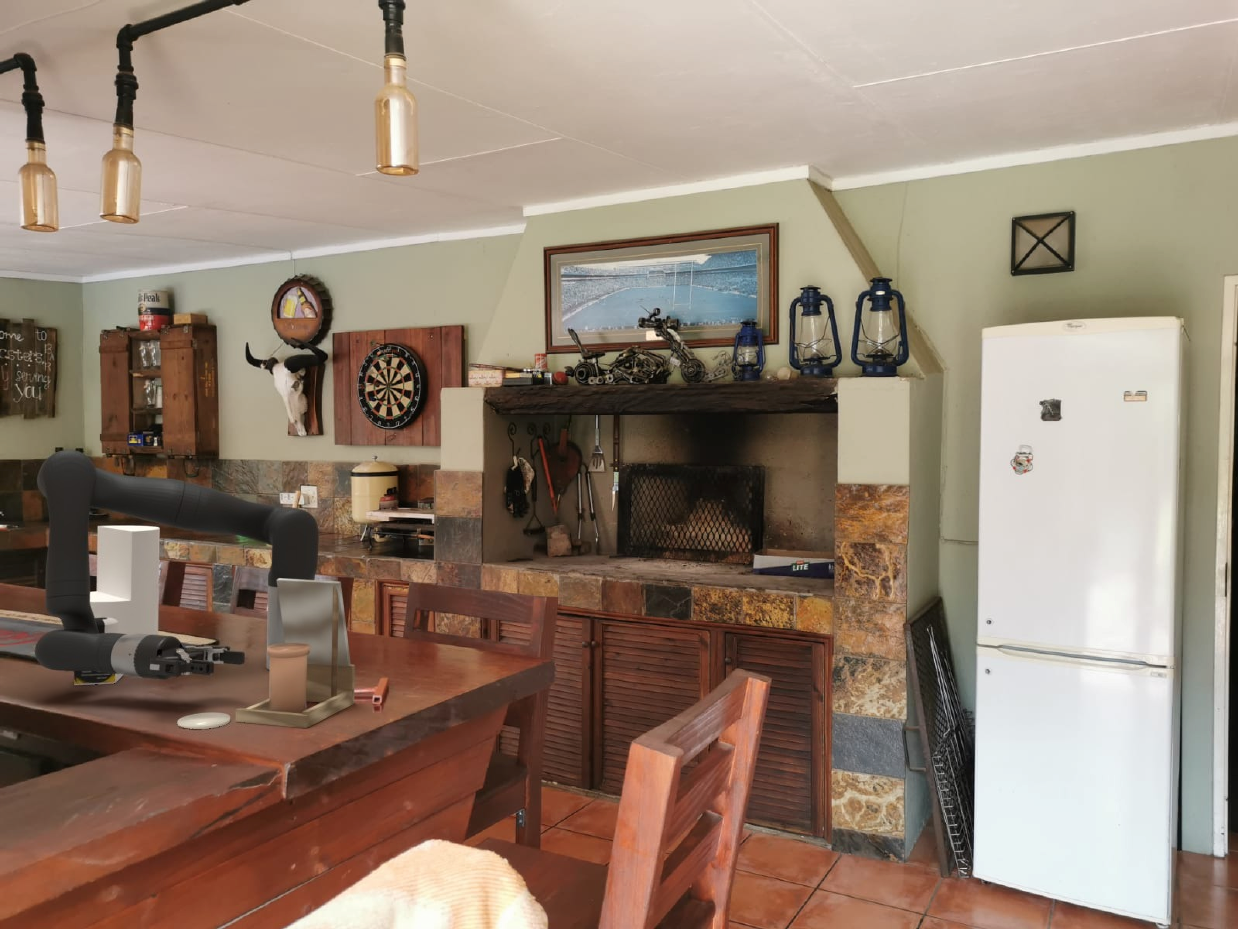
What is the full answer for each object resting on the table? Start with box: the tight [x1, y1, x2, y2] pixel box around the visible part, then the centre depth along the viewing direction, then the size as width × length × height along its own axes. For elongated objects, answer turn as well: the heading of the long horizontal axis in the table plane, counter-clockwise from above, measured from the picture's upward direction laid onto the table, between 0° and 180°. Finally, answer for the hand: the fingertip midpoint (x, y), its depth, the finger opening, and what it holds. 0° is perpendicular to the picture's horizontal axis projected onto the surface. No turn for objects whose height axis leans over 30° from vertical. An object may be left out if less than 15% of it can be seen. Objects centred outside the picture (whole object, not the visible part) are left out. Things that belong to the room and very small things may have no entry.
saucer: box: [176, 712, 231, 730], centre depth 156 cm, size 8×8×1 cm
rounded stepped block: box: [90, 525, 161, 635], centre depth 200 cm, size 17×17×28 cm
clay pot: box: [266, 643, 310, 714], centre depth 161 cm, size 7×7×12 cm
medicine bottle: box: [73, 618, 124, 686], centre depth 183 cm, size 7×7×12 cm
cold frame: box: [235, 578, 356, 729], centre depth 164 cm, size 16×13×23 cm
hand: (228, 663), depth 163 cm, fingers open, 8 cm apart
